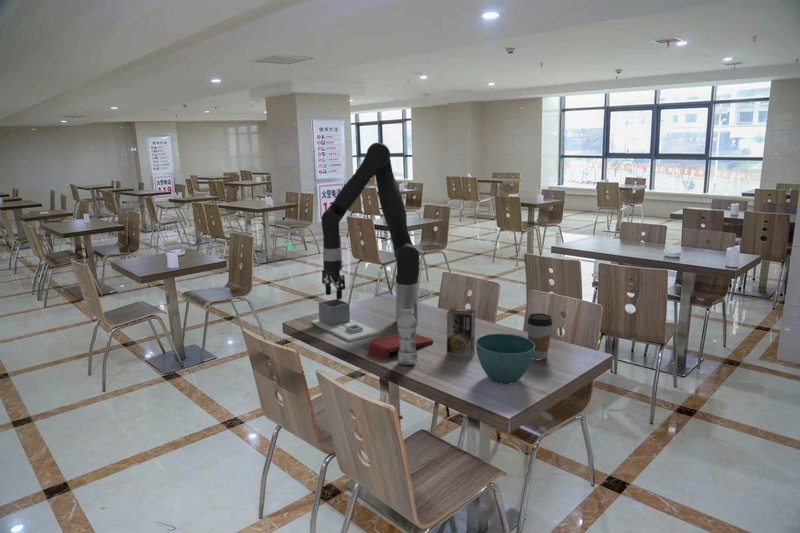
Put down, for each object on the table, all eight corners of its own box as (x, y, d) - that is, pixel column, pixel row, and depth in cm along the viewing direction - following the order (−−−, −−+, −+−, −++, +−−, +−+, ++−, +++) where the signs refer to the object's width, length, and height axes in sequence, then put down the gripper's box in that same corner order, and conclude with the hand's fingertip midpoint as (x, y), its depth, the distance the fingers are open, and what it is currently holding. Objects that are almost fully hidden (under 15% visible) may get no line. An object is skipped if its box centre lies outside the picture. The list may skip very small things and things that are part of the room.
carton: (410, 345, 217) (364, 353, 199) (411, 332, 217) (365, 339, 199) (434, 352, 209) (388, 361, 191) (435, 340, 209) (389, 348, 190)
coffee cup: (536, 363, 189) (538, 321, 185) (520, 355, 196) (522, 314, 193) (555, 359, 192) (557, 318, 189) (538, 351, 200) (541, 311, 196)
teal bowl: (490, 363, 189) (491, 329, 186) (541, 376, 179) (543, 340, 176) (465, 382, 174) (465, 345, 171) (519, 396, 164) (521, 358, 161)
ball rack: (311, 322, 232) (310, 302, 230) (339, 316, 241) (339, 296, 239) (349, 341, 210) (348, 319, 208) (379, 334, 218) (378, 312, 216)
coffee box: (475, 352, 199) (476, 309, 195) (471, 358, 193) (472, 314, 189) (450, 349, 202) (451, 307, 198) (445, 355, 196) (446, 312, 192)
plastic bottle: (417, 367, 186) (417, 310, 181) (397, 367, 186) (396, 310, 181) (417, 360, 192) (417, 305, 188) (397, 360, 192) (397, 304, 188)
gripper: (349, 260, 222) (350, 298, 225) (331, 254, 233) (332, 291, 236) (333, 262, 217) (335, 302, 221) (315, 256, 228) (317, 294, 232)
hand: (333, 296), depth 228 cm, fingers open, 8 cm apart
